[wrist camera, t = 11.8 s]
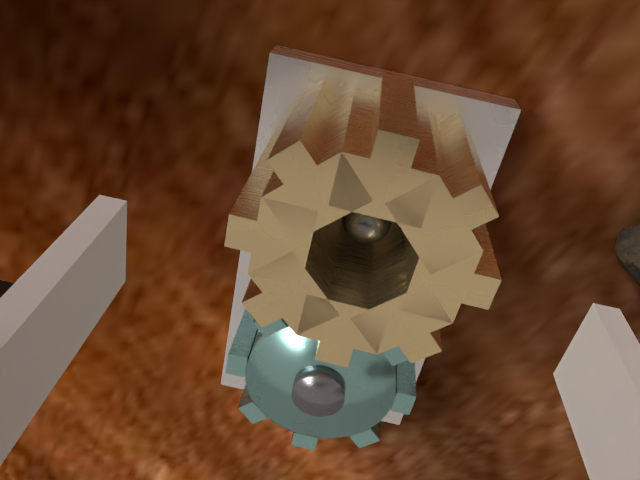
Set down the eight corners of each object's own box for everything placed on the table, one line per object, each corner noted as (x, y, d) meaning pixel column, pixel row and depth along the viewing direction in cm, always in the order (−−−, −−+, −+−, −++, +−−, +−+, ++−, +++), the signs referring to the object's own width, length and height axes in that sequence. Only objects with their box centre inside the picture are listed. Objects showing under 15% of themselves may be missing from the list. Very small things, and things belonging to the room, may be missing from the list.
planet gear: (226, 140, 24) (170, 217, 18) (411, 24, 21) (418, 70, 15) (336, 291, 28) (320, 399, 22) (511, 210, 24) (550, 308, 18)
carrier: (227, 365, 33) (192, 459, 27) (276, 44, 24) (239, 86, 18) (399, 404, 33) (400, 506, 27) (514, 99, 24) (551, 157, 18)
